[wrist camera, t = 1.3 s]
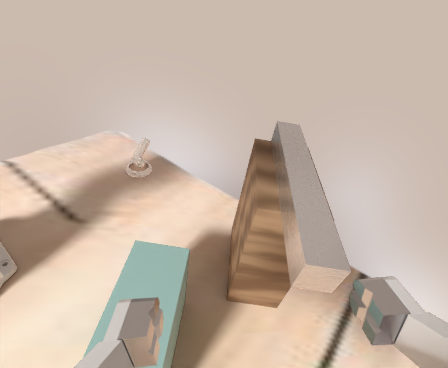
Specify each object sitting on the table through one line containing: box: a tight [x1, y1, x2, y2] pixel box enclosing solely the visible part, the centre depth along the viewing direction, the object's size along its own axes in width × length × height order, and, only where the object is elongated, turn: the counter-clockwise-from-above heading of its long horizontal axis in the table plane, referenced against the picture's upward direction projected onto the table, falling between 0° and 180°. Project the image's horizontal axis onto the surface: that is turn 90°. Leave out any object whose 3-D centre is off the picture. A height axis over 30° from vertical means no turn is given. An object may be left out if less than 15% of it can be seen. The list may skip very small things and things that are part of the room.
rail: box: [271, 121, 351, 293], centre depth 33 cm, size 28×4×4 cm, turn 175°
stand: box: [227, 139, 334, 308], centre depth 46 cm, size 18×10×26 cm, turn 175°
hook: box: [126, 138, 152, 177], centre depth 73 cm, size 8×12×7 cm
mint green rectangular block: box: [83, 241, 190, 368], centre depth 34 cm, size 17×8×16 cm, turn 175°
